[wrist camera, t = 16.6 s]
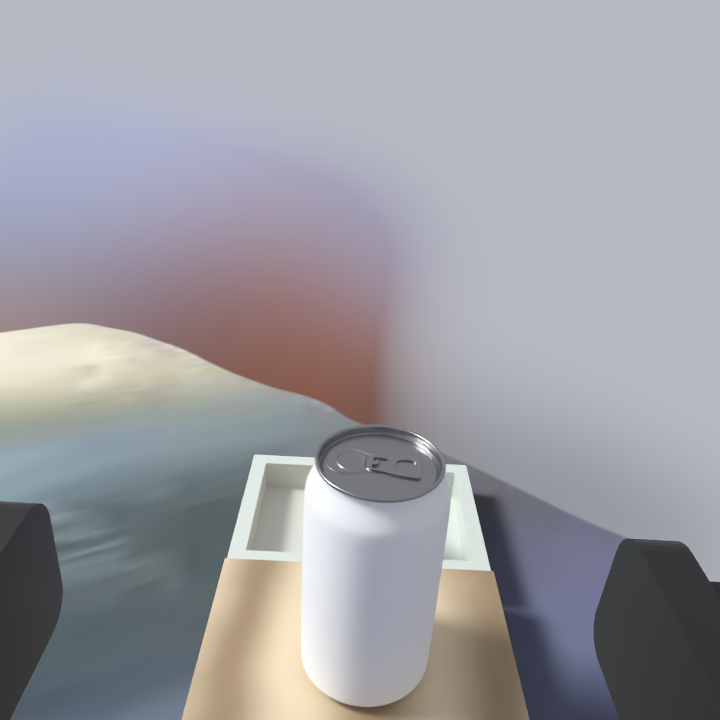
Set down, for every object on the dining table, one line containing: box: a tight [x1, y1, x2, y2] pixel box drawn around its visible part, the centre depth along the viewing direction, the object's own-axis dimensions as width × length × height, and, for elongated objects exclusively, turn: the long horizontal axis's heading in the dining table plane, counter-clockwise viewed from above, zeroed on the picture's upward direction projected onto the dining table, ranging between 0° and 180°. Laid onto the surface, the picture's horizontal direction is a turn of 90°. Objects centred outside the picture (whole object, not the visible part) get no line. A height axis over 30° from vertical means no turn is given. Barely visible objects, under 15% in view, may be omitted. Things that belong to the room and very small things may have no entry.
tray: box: [227, 455, 491, 571], centre depth 45 cm, size 16×11×2 cm
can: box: [301, 425, 451, 707], centre depth 31 cm, size 6×6×12 cm
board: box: [182, 558, 530, 720], centre depth 34 cm, size 16×12×3 cm
